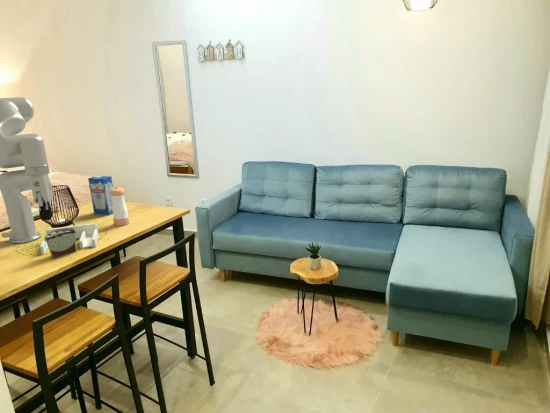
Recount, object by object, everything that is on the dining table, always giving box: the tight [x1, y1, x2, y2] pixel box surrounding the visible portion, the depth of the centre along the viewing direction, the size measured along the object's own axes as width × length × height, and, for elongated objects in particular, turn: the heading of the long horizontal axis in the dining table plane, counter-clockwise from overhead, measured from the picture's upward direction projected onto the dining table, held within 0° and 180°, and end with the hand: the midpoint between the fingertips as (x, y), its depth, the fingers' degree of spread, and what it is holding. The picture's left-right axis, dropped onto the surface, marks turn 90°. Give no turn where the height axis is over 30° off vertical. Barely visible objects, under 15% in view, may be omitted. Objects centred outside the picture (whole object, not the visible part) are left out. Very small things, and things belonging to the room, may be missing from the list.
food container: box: [43, 228, 77, 260], centre depth 168 cm, size 12×6×10 cm, turn 141°
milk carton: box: [87, 175, 114, 216], centre depth 221 cm, size 10×6×20 cm, turn 73°
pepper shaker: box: [110, 186, 130, 227], centre depth 202 cm, size 7×7×19 cm
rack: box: [39, 222, 99, 255], centre depth 178 cm, size 21×16×6 cm
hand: (47, 218), depth 153 cm, fingers open, 2 cm apart
